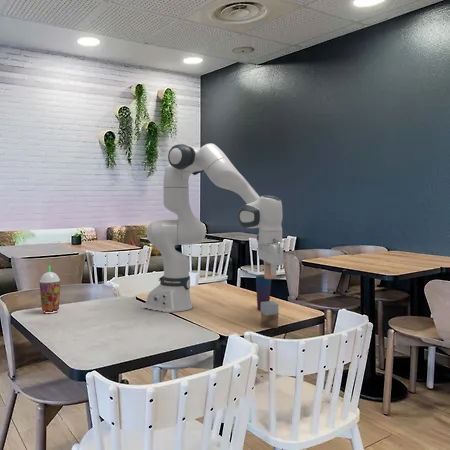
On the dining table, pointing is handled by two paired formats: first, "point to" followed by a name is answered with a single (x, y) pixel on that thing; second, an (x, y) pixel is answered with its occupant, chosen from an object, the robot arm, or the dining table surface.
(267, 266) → the orange brown block
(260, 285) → the cup
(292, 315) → the dining table surface
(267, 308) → the tower top block
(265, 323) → the tower base
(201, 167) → the robot arm
